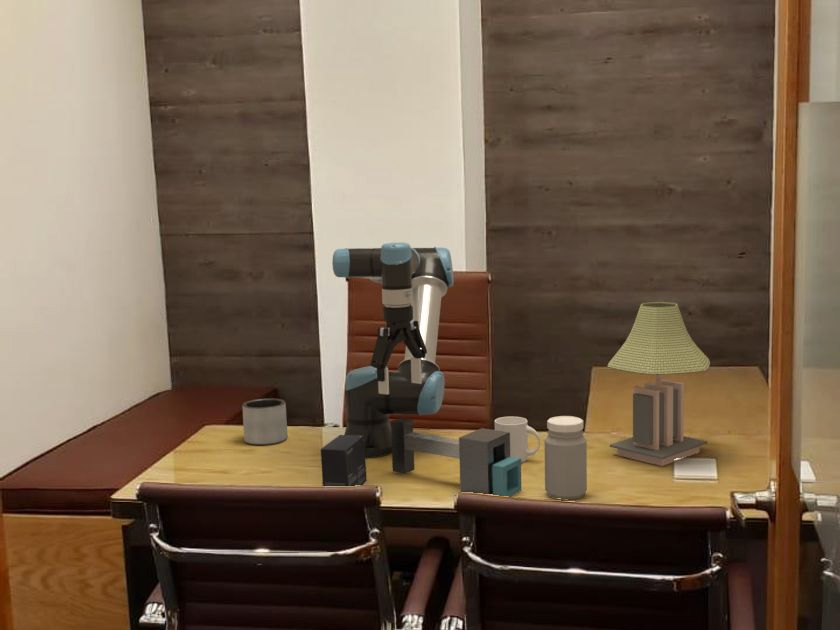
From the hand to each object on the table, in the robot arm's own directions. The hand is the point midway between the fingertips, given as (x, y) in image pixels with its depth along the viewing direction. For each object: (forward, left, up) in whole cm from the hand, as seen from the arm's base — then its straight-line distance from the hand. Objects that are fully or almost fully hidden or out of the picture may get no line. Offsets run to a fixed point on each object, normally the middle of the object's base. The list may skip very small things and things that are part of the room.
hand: (400, 388), depth 259 cm
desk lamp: (+48, +49, -23) cm, 72 cm away
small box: (-5, -17, -23) cm, 29 cm away
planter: (-54, +5, -23) cm, 59 cm away
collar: (+31, 0, -18) cm, 36 cm away
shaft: (+12, 0, -21) cm, 25 cm away
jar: (+43, +7, -23) cm, 49 cm away
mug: (+19, +25, -23) cm, 39 cm away
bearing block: (+25, 0, -22) cm, 34 cm away
